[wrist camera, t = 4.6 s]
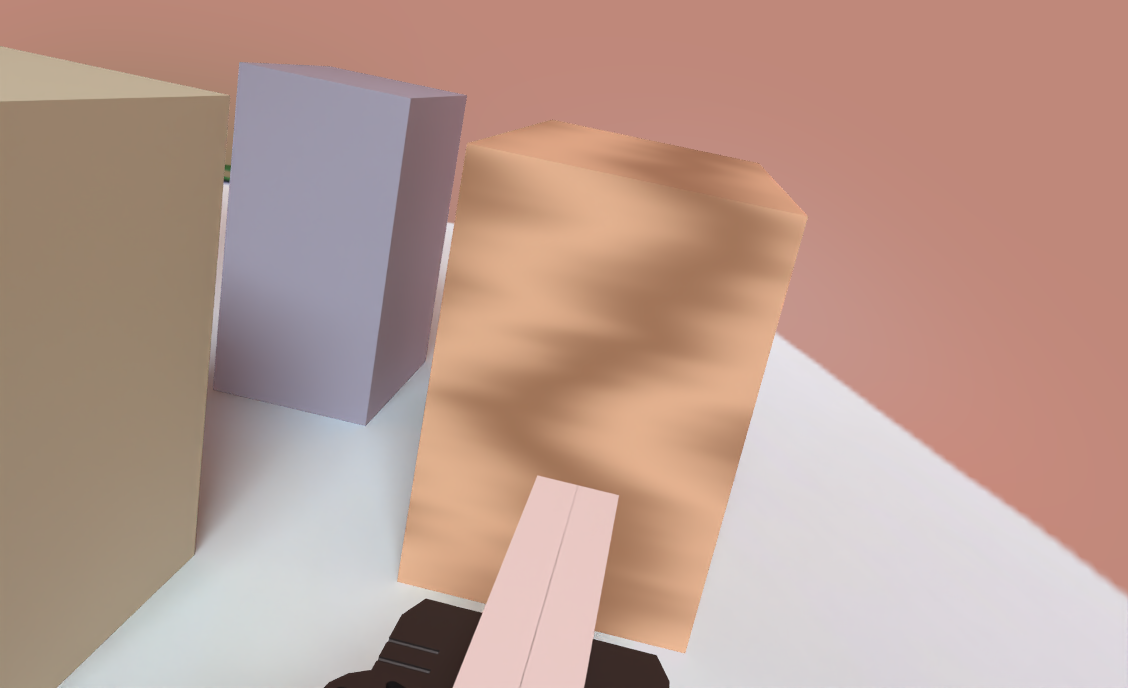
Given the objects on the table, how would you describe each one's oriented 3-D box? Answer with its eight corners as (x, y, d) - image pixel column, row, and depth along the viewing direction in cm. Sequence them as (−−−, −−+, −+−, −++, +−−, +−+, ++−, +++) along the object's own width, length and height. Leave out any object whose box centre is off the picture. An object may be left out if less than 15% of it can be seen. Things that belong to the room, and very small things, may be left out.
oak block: (397, 583, 24) (467, 143, 21) (498, 406, 38) (552, 119, 34) (684, 655, 24) (808, 216, 20) (684, 449, 37) (758, 163, 33)
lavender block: (213, 389, 34) (239, 62, 30) (300, 333, 41) (329, 66, 38) (365, 426, 33) (410, 98, 30) (424, 362, 41) (467, 95, 37)
